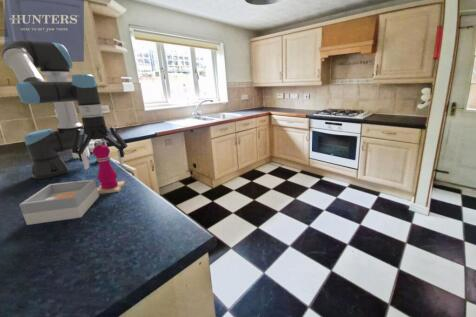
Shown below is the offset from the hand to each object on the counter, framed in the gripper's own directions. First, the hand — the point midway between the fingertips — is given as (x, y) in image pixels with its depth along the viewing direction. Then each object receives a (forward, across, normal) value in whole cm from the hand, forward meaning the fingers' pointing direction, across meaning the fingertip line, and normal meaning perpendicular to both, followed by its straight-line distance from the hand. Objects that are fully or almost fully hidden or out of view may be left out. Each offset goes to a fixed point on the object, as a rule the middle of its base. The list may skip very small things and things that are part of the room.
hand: (104, 166), depth 94 cm
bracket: (+11, -36, +72) cm, 81 cm away
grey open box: (+10, -10, -15) cm, 21 cm away
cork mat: (+10, 0, 0) cm, 10 cm away
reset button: (+10, -10, -15) cm, 21 cm away
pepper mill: (+9, 0, 0) cm, 9 cm away
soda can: (+10, -19, +49) cm, 54 cm away
